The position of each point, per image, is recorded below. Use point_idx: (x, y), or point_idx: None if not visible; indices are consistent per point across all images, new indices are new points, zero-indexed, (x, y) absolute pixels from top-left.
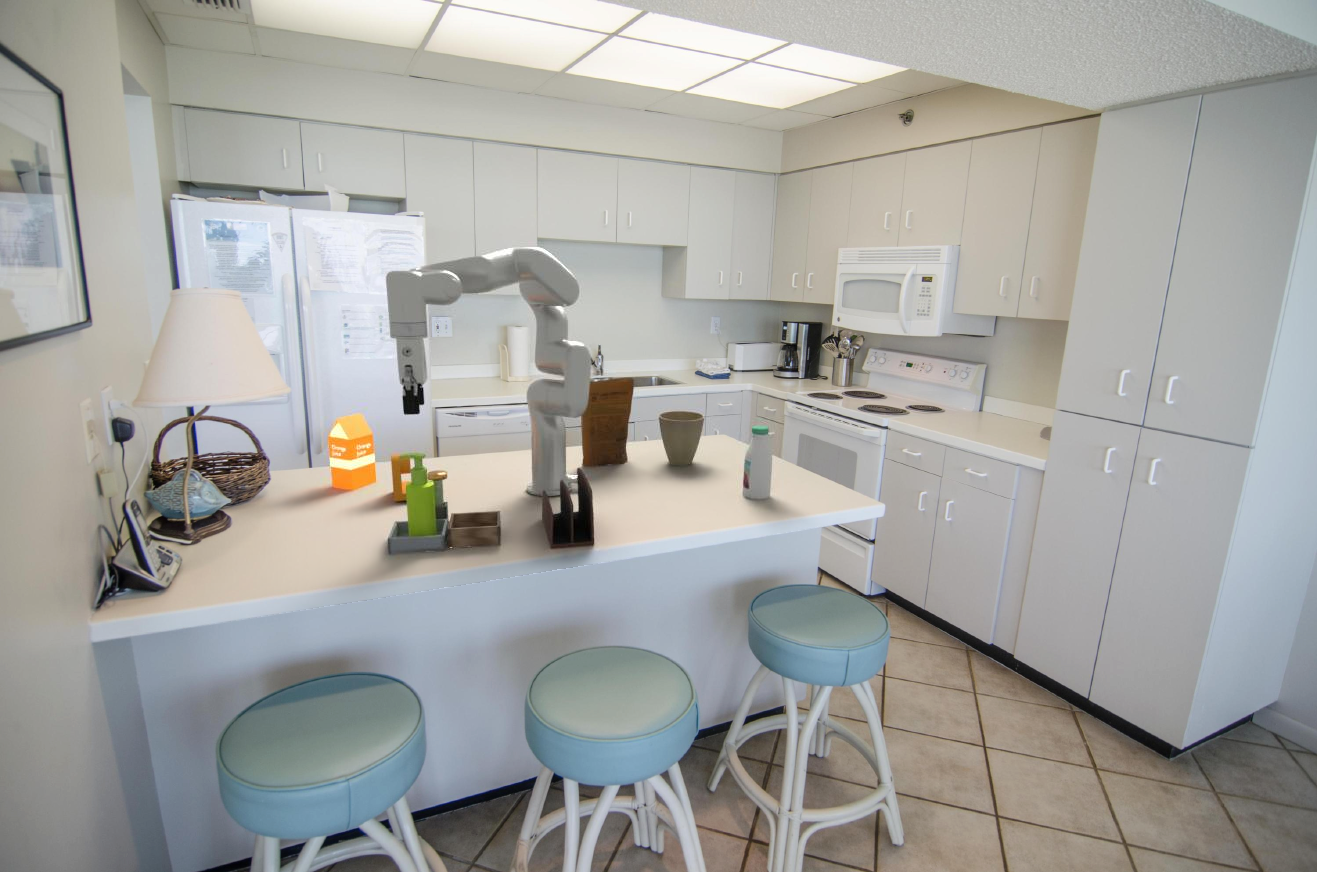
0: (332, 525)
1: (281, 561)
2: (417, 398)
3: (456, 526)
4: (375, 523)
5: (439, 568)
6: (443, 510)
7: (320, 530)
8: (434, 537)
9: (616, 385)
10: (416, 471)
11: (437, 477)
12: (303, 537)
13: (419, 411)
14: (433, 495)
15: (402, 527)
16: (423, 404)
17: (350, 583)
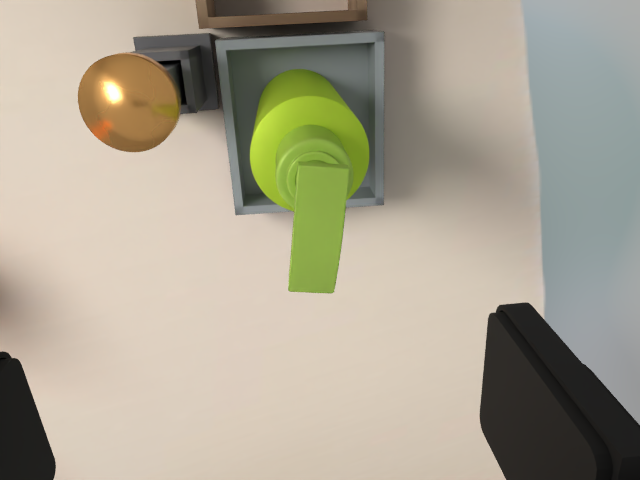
0: (154, 373)
1: (377, 402)
2: (630, 432)
3: (212, 9)
4: (136, 275)
5: (501, 29)
6: (191, 61)
7: (190, 387)
8: (383, 65)
9: None
10: (352, 181)
11: (176, 95)
12: (237, 407)
13: (534, 311)
14: (317, 89)
15: (242, 187)
16: (5, 354)
17: (532, 236)
